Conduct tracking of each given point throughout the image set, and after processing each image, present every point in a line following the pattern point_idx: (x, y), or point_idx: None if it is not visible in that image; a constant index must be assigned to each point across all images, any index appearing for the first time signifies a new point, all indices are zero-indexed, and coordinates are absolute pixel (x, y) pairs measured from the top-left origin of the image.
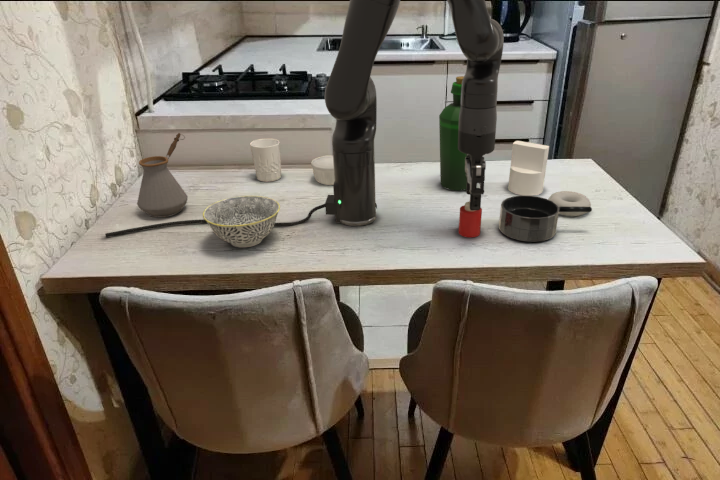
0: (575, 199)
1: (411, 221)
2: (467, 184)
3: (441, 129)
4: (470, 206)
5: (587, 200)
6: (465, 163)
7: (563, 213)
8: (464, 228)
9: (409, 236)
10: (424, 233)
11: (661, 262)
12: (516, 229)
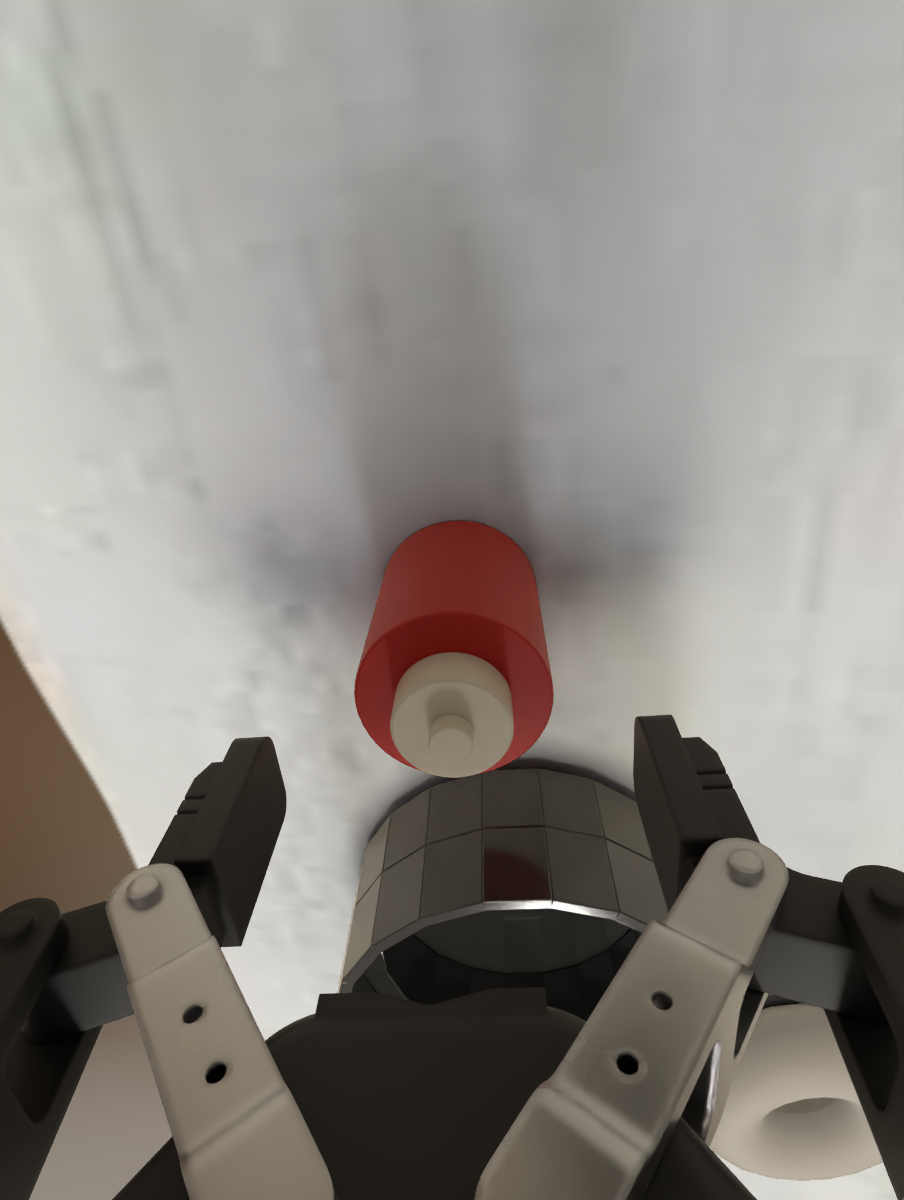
0: (820, 1131)
1: (658, 59)
2: (661, 791)
3: None
4: (227, 759)
5: (767, 1176)
6: (509, 1130)
7: None
8: (384, 585)
9: (318, 78)
10: (403, 234)
11: None
12: (366, 885)
